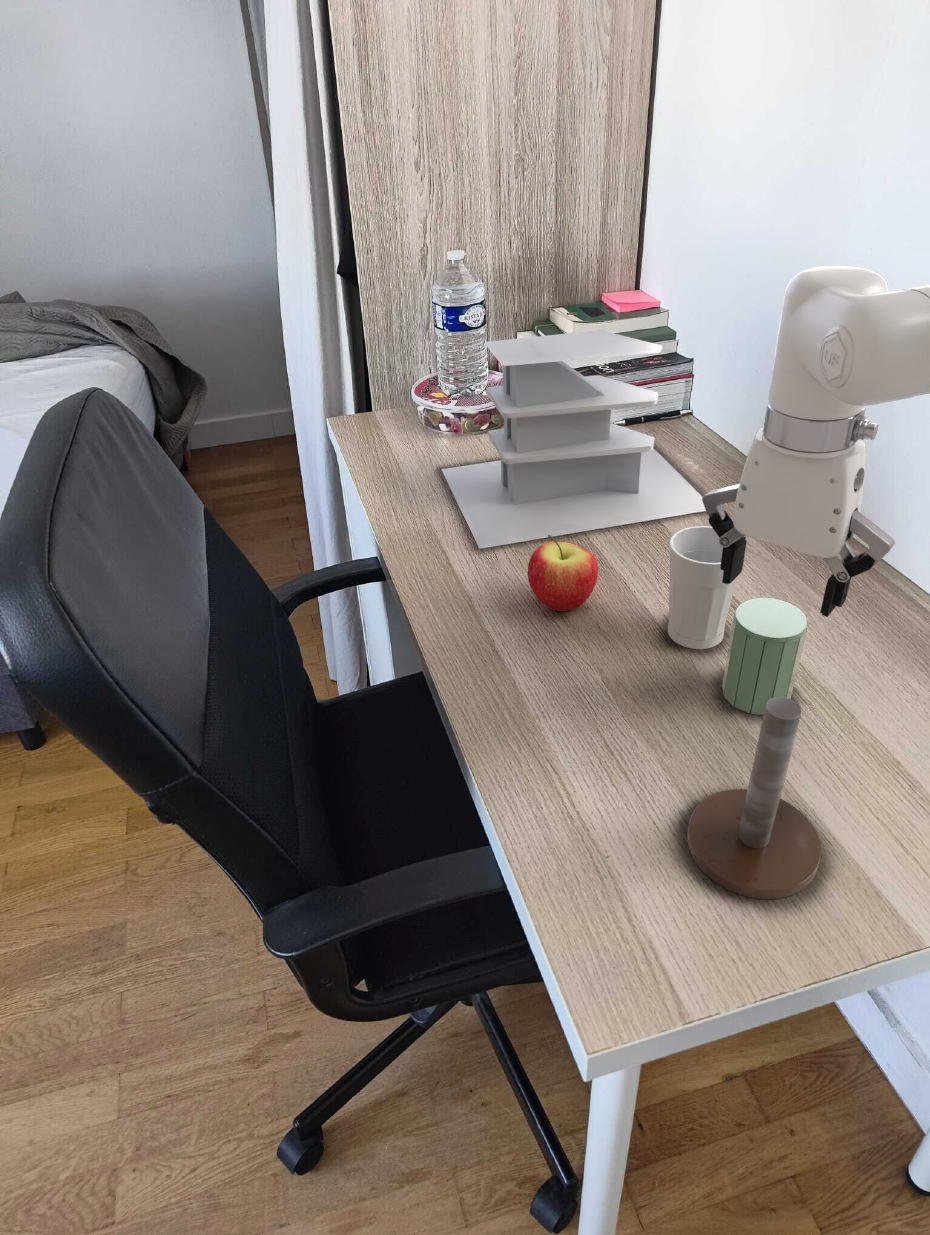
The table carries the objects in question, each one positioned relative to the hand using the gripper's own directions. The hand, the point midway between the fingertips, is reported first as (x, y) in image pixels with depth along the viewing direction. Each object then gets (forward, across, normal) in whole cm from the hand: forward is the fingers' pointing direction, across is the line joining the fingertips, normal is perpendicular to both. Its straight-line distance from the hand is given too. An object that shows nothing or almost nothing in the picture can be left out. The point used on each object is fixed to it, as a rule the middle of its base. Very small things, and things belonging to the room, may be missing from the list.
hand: (779, 593), depth 81 cm
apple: (+13, +27, -2) cm, 30 cm away
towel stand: (+14, -7, +19) cm, 24 cm away
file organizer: (+12, +43, -28) cm, 53 cm away
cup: (+13, +11, -6) cm, 18 cm away
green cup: (+13, +1, 0) cm, 13 cm away
